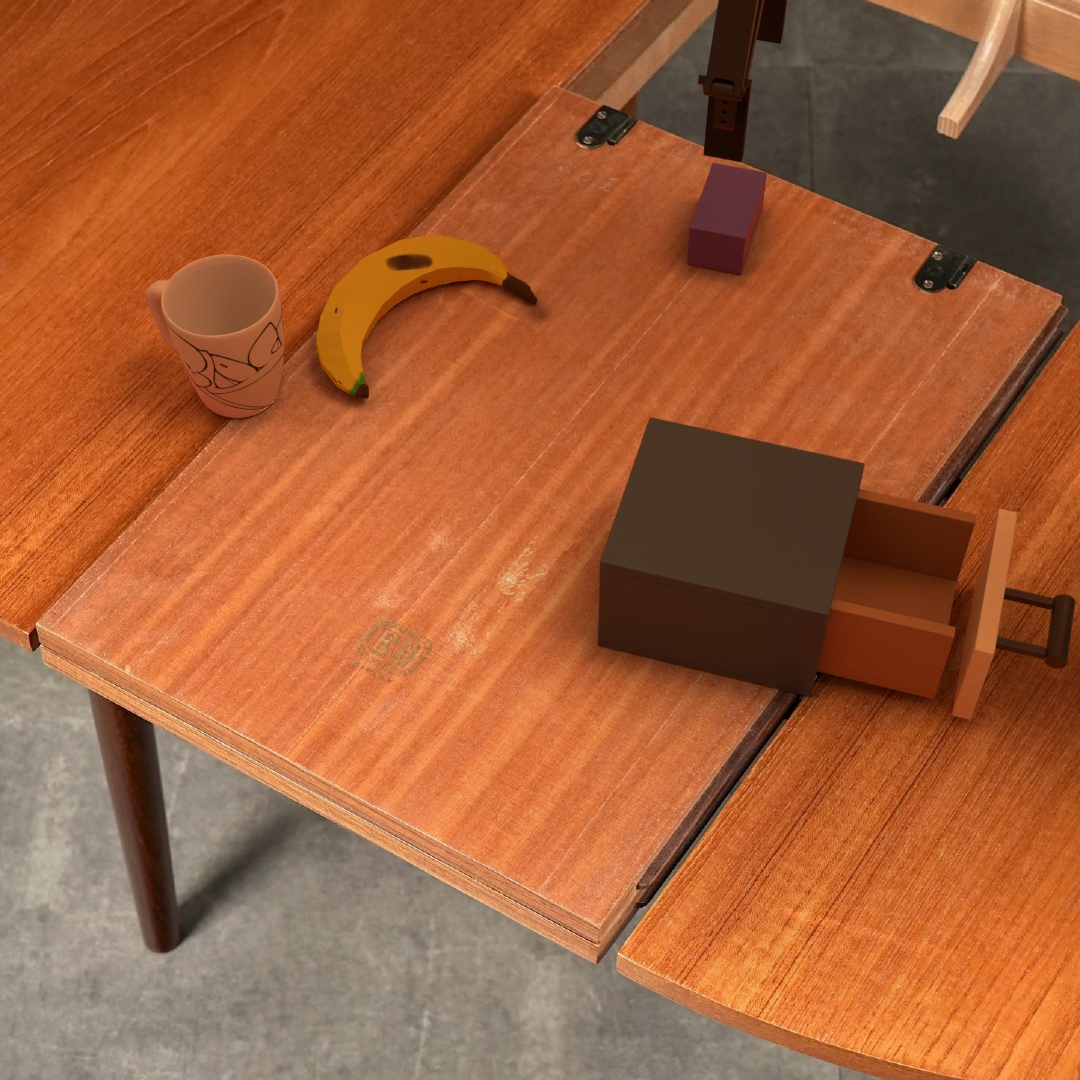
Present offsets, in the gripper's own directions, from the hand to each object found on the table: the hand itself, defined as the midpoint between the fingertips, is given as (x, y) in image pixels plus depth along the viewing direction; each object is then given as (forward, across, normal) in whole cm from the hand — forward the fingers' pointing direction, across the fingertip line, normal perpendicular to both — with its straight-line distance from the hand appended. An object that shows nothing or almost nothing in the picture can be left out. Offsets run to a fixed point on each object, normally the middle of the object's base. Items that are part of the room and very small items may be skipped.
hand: (744, 95), depth 123 cm
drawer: (+16, +32, +20) cm, 41 cm away
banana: (+17, +14, -21) cm, 30 cm away
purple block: (+17, -3, -1) cm, 17 cm away
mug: (+17, +22, -34) cm, 44 cm away
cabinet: (+17, +32, +7) cm, 37 cm away
